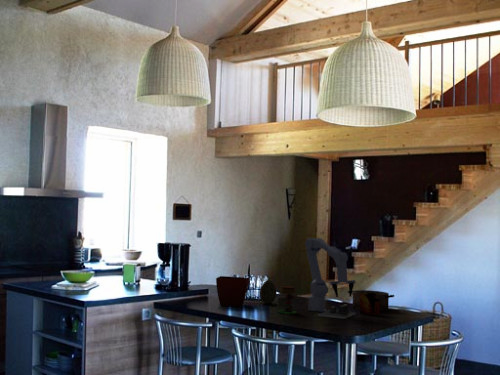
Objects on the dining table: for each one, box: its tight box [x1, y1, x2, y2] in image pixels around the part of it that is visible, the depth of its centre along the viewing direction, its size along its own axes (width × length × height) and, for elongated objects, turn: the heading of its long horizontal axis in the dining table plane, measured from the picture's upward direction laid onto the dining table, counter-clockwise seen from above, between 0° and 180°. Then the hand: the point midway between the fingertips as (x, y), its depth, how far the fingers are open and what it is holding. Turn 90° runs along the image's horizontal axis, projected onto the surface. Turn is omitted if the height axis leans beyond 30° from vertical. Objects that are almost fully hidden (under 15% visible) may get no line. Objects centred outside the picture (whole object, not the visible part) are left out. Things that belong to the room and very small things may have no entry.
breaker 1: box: [338, 305, 345, 314], centre depth 369 cm, size 2×4×4 cm, turn 155°
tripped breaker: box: [329, 306, 337, 314], centre depth 364 cm, size 2×4×4 cm, turn 155°
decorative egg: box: [259, 279, 277, 305], centre depth 409 cm, size 11×11×15 cm
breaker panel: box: [317, 308, 357, 320], centre depth 370 cm, size 16×22×2 cm
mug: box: [358, 293, 380, 316], centre depth 380 cm, size 10×14×12 cm
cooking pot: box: [347, 289, 395, 313], centre depth 402 cm, size 30×22×11 cm
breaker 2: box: [341, 304, 349, 312], centre depth 375 cm, size 2×4×4 cm, turn 155°
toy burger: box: [277, 285, 298, 315], centre depth 373 cm, size 12×13×15 cm
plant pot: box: [215, 275, 251, 308], centre depth 394 cm, size 19×19×17 cm
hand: (343, 297), depth 368 cm, fingers open, 7 cm apart
